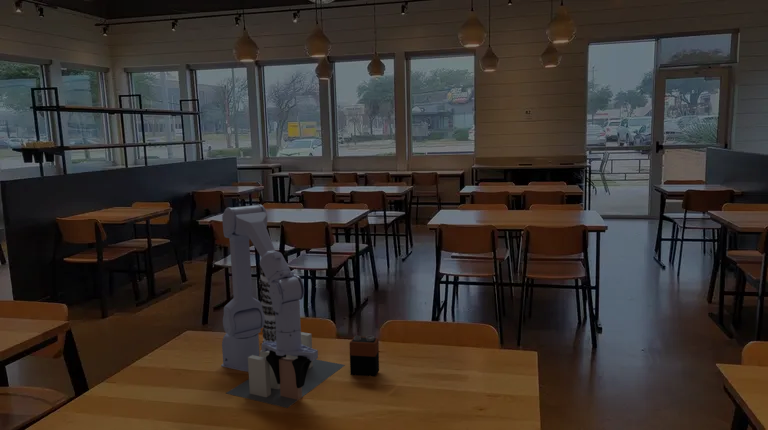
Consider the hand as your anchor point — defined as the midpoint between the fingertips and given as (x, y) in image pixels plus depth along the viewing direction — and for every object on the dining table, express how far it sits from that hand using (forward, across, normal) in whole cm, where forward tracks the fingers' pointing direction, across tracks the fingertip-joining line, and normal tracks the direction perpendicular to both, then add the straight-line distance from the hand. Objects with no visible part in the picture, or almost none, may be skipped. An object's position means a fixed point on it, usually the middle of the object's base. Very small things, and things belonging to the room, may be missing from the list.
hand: (290, 384), depth 132 cm
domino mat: (+3, -6, +8) cm, 11 cm away
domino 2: (+3, -8, +2) cm, 8 cm away
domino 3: (+3, -8, +12) cm, 14 cm away
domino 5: (+3, -8, +16) cm, 18 cm away
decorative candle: (+4, -26, +30) cm, 40 cm away
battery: (+4, +10, +19) cm, 22 cm away
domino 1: (+3, -8, -2) cm, 8 cm away
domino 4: (+3, 0, 0) cm, 3 cm away
